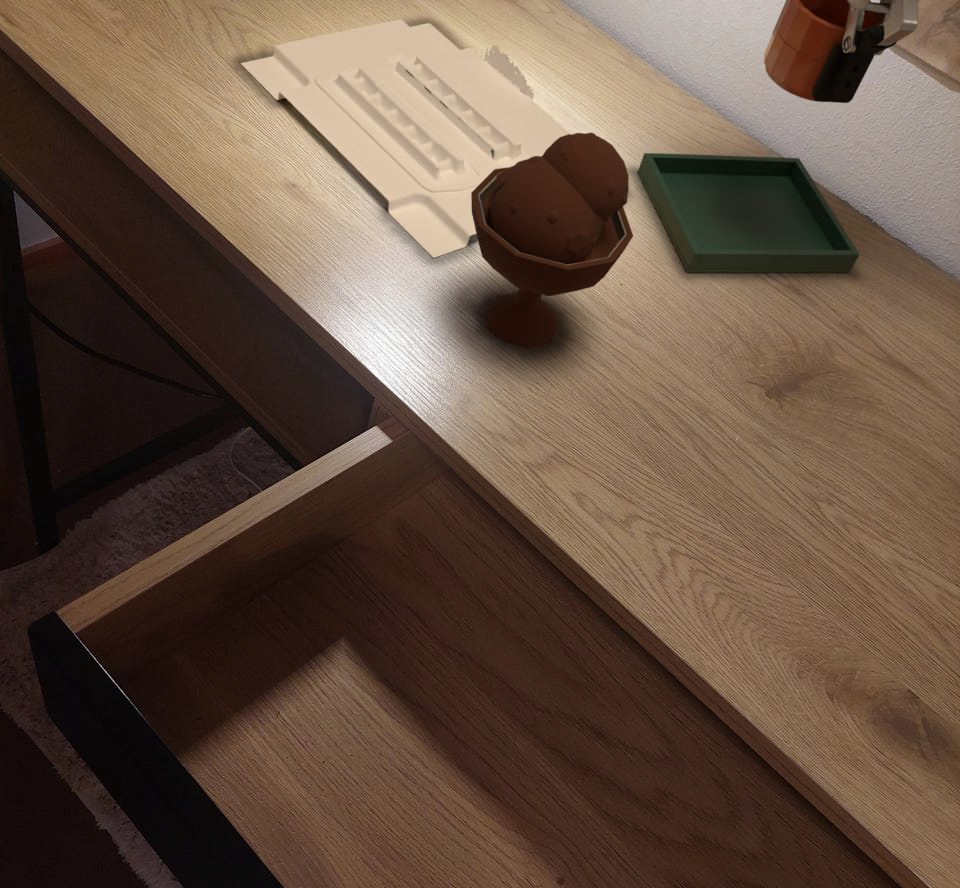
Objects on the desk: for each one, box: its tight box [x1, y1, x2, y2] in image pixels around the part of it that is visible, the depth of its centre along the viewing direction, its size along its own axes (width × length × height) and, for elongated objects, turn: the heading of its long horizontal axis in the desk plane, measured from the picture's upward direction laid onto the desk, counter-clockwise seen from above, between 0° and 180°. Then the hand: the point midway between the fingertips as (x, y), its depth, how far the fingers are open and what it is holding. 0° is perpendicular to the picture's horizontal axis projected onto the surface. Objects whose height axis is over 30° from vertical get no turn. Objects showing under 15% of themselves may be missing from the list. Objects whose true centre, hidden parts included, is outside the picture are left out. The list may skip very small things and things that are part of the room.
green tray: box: [637, 152, 861, 274], centre depth 91 cm, size 15×13×2 cm
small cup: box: [763, 0, 876, 103], centre depth 79 cm, size 7×7×6 cm
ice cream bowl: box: [471, 132, 634, 349], centre depth 73 cm, size 11×11×15 cm
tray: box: [240, 18, 571, 259], centre depth 90 cm, size 20×28×4 cm
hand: (810, 68), depth 80 cm, fingers closed on small cup, 7 cm apart
